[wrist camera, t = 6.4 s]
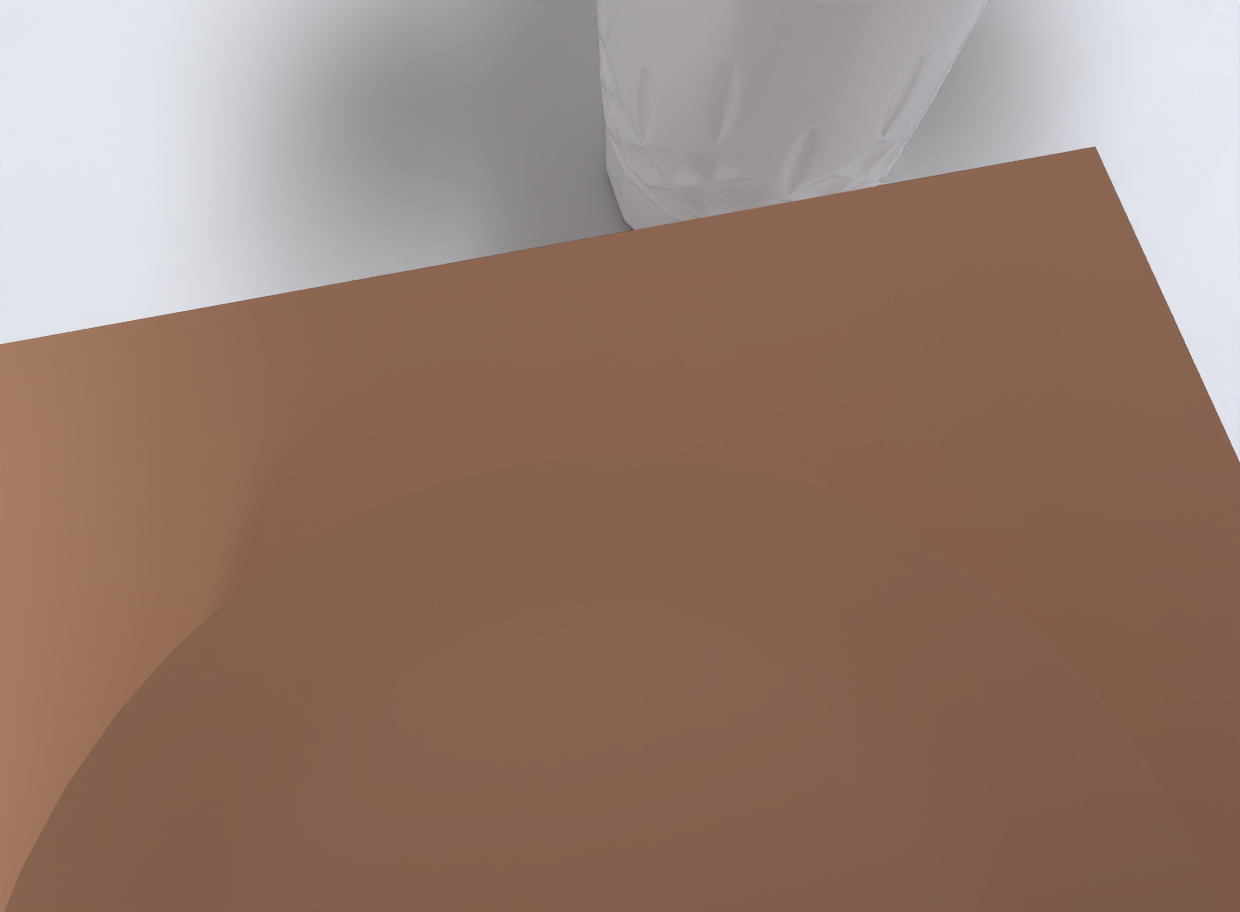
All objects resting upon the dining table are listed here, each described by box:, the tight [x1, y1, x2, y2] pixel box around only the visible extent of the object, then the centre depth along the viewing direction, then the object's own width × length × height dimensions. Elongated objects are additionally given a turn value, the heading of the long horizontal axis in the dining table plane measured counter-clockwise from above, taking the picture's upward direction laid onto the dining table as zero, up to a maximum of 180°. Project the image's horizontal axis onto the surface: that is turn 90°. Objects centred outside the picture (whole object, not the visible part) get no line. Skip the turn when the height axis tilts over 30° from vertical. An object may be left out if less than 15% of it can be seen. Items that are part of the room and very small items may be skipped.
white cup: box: [596, 0, 989, 230], centre depth 23 cm, size 8×8×10 cm
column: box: [0, 147, 1240, 912], centre depth 8 cm, size 5×5×13 cm
